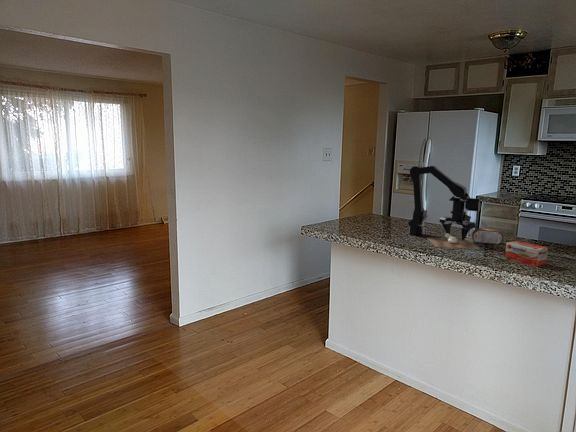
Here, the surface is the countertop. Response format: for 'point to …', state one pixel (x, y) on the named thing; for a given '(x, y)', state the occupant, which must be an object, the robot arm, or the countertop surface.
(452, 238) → the peg
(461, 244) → the brown board
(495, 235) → the tin
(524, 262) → the medicine box
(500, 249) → the countertop surface
